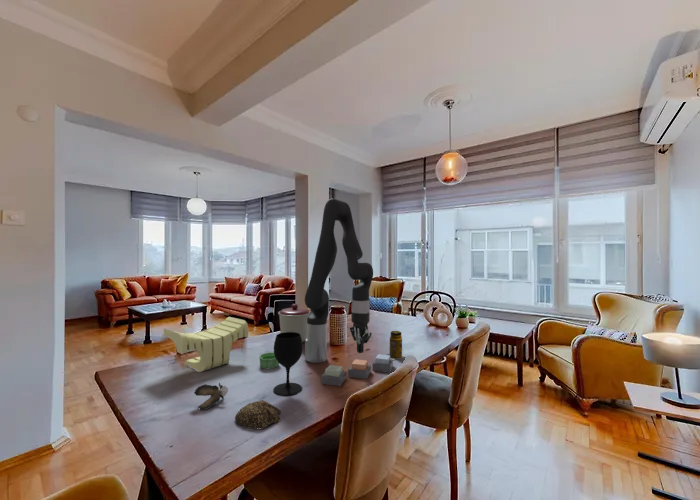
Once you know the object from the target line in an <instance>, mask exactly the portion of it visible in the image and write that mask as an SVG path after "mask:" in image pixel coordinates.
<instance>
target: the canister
mask: <svg viewBox="0 0 700 500" xmlns="http://www.w3.org/2000/svg"><path fill="white" fill-rule="evenodd" d="M310 311H311V310H310V309H309V308H303V307H299V305H298V304H297V303H292V304H291V307H287V308H282V309H281V310H280V311H278V312H277V313H278V316H279V327H280V333H284V332H296V333H299V334H300V335H301V339H302V343H305V340H306V339H307V317H308V316H309V314H310Z"/></svg>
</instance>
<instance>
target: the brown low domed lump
mask: <svg viewBox="0 0 700 500" xmlns="http://www.w3.org/2000/svg"><path fill="white" fill-rule="evenodd" d="M281 411H282V410H281V409H280V408H278V407H277V406H275V404H274V405H273V404H271V403H270V402H267V401H266V400H262V399H261V400H258V401H253V402H249V403H248V404H246V405H244V406H243V407H241V408H240V409H239V411H237V413H236V414H235V417H234V420H235V421H234V422H235V423H237V424H238V425H240V426H242V425H243V427H244V426H245V428H246V427H251V428H250V429H255V428H256V429H255V430H260V429H259V428H263V429H264V428H267V427H268V426H269V425H271V424H277V423H279V422H280V421H279V420H281V416H280V415H281V414H282V413H281ZM257 428H258V429H257Z"/></svg>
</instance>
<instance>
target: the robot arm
mask: <svg viewBox="0 0 700 500" xmlns="http://www.w3.org/2000/svg"><path fill="white" fill-rule="evenodd" d="M337 221H338V222H339V223H340V225H341V227H342V231H343V233H342V241H341V242H342V244H341V245H342V247H343V252H344V253H345V256H346V265H347V274H348V276H349V277H350V279H352V280H354V281H359V283H358V284H357V285H354V286H353V287H352V290H351V291H352V292H351V293H352V294H351V318H350V319H351V322H352V323H353V324H352V326H351V327H349V330H350V331H349V332H350V333H351V336H352V340H353V341H355V344H356V353H358V354H361V353H362V354H363V353H364V350H365V349H364V348H365V347H364V345H365V344H368V342H369V340H370V339H371V337H372V332H370V331H369V326H368V324H369V323H370V319H371V318H370V313H371V312H370V311H371V310H370V290H371V289H370V288H371V286H372V281H373V278H374V268H373V266H372V264H371V263H369V262H359V260H360V259H361V258H362V257H363V250H362V248H361V245H360V242H359V239H358V237H357V234H356V229H355V224H354V219H353V215H352V211H351V207H350V205H349V203H347V202H346V201H344V200H343V201H342V200H341V199H337V198H330V199H328V200H327V201H326V203H325V204H324V208H323V214H322V222H321V223H322V224H321V229H320V235H319V239H318V240H319V241H318V245H317V248H316V252H315V256H314V263H313V266H312V270H311V271H312V272H311V276H310V280H309V283H308V285H307V289H306V292H305V294H304V304H305V306H306V307H307V309H308V310H309V311H310V314H309V316H308V317H307V338H306V340H305V341H304V361H305V362H308V363H313V364H319V363H324V362H326V361H327V357H328V356H327V339H328V338H327V336H328V335H327V334H328V332H327V331H328V330H327V329H328V328H327V327H328V326H327V325H328V318H329V313H330V312H329V309H330V296H329V293H328V291H327V290H326V289H325V285H326V282H327V279H328V277H329V275H330V273H331V272H332V269H333V268H334V266H335V261H336V258H337V253H338V246H337V241H336V237H335V225H336V222H337Z"/></svg>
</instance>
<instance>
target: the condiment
mask: <svg viewBox="0 0 700 500" xmlns="http://www.w3.org/2000/svg"><path fill="white" fill-rule="evenodd" d="M386 355H390V359H393V361H396V360H399V359H400V360H401V359H405V358H404V357H405V356H404V355H403V337H402V332H401V331H400V330H392V331H390V337H389V353H388V354H386Z"/></svg>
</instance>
